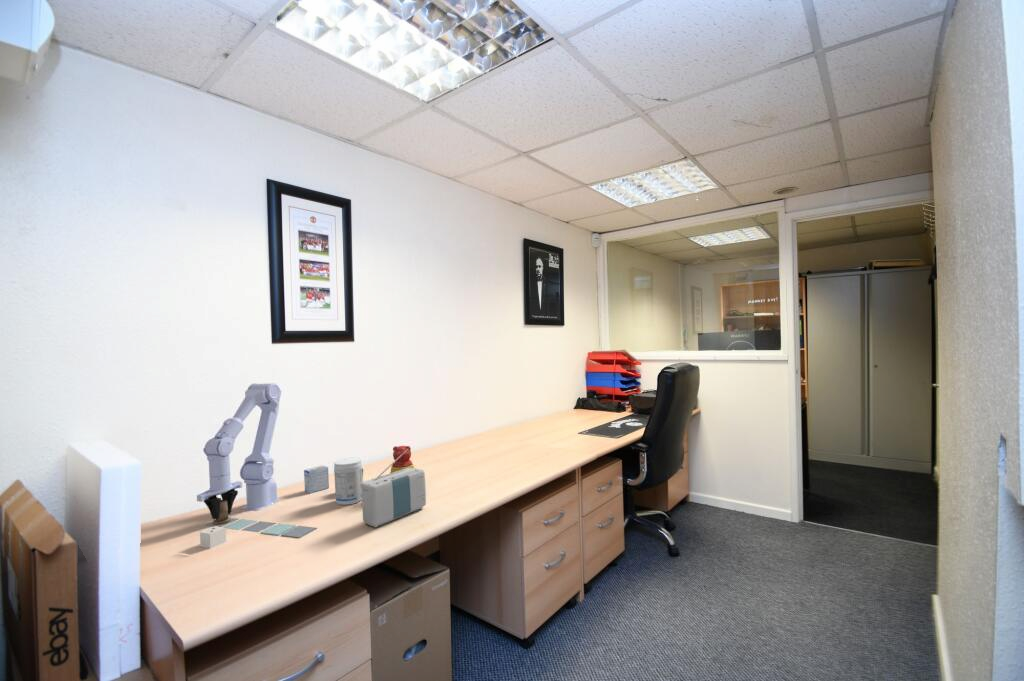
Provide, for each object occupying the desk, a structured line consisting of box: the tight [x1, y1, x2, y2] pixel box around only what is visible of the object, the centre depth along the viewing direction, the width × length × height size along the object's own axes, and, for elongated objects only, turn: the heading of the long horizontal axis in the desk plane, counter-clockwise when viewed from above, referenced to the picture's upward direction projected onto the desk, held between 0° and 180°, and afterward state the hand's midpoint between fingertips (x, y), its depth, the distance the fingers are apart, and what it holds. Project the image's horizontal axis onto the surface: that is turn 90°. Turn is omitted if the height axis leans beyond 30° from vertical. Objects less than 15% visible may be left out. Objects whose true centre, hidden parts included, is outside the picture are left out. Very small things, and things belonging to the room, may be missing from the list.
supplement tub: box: [333, 456, 364, 506], centre depth 167 cm, size 10×10×15 cm
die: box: [199, 526, 227, 550], centre depth 133 cm, size 4×4×5 cm
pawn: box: [212, 499, 231, 525], centre depth 151 cm, size 5×5×7 cm
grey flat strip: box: [204, 517, 318, 539], centre depth 145 cm, size 7×39×1 cm, turn 71°
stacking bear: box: [389, 445, 415, 474], centre depth 173 cm, size 11×10×18 cm
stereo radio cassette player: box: [361, 449, 427, 528], centre depth 150 cm, size 21×8×20 cm, turn 143°
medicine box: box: [303, 464, 330, 494], centre depth 181 cm, size 8×4×9 cm, turn 141°
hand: (221, 516), depth 151 cm, fingers closed on pawn, 4 cm apart
